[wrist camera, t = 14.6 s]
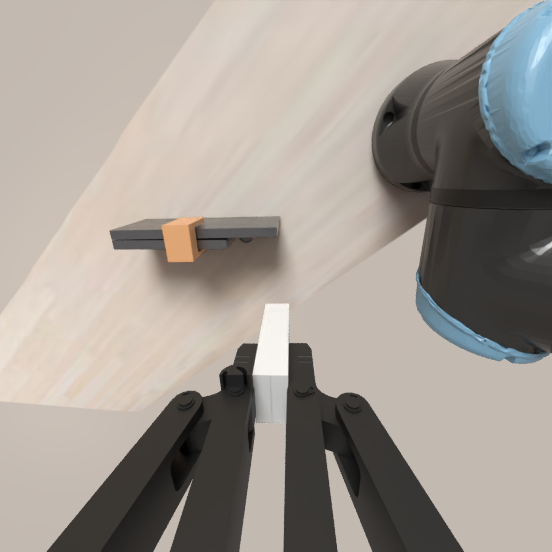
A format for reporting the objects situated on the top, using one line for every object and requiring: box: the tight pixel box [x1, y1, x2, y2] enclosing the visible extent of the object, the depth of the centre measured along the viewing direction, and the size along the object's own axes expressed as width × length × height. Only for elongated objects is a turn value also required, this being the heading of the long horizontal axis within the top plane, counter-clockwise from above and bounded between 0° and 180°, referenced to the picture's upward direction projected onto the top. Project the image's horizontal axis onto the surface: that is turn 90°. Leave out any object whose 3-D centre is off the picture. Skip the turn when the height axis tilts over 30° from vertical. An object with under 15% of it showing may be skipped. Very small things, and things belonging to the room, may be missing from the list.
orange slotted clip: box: [162, 217, 207, 262], centre depth 34 cm, size 3×4×6 cm
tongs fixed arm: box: [110, 217, 280, 243], centre depth 38 cm, size 22×3×9 cm, turn 92°
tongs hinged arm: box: [112, 238, 236, 249], centre depth 38 cm, size 15×1×9 cm, turn 91°
